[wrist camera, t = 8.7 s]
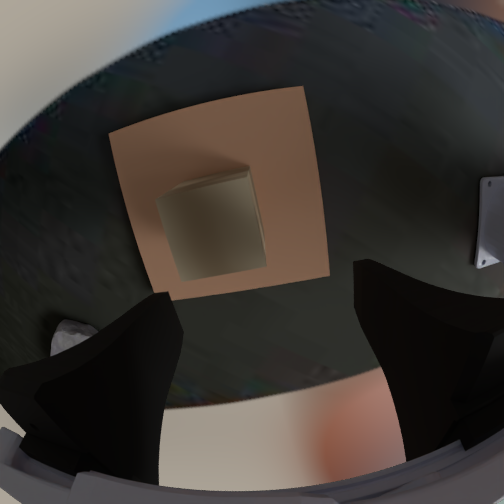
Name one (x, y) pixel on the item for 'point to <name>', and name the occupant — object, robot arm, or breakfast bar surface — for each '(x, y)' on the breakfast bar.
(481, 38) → the breakfast bar surface
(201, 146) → the terracotta tile
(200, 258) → the birch block
